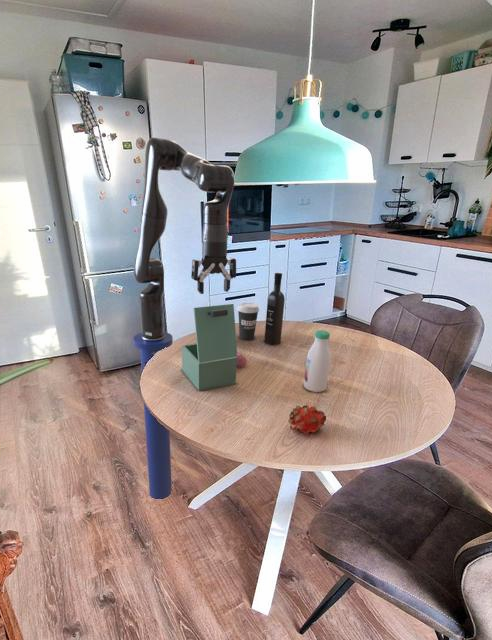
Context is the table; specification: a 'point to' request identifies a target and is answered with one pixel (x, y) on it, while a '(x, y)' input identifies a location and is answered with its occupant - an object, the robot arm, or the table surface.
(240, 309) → the coffee cup
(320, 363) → the milk bottle
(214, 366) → the green rectangular box
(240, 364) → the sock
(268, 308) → the wine bottle
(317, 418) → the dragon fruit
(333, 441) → the table surface
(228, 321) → the green box lid
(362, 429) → the table surface
